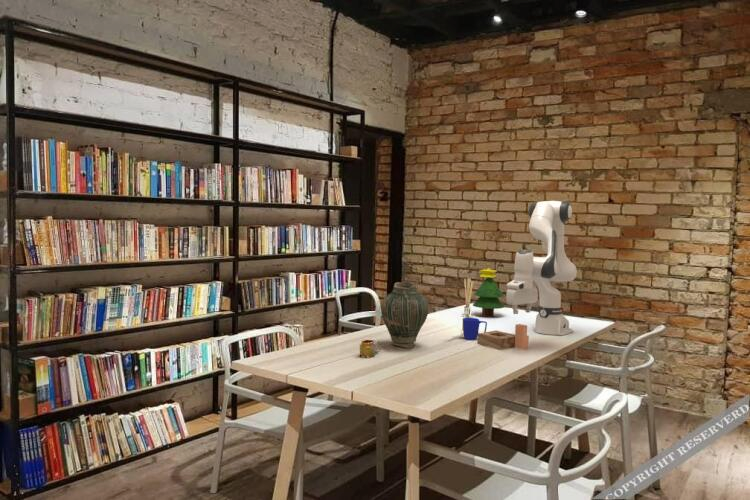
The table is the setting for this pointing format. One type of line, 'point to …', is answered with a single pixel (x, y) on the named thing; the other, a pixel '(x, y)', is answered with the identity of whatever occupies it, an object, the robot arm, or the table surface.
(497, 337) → the wooden tray
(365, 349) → the mug
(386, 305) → the vase
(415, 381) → the table surface
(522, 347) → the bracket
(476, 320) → the mug
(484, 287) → the decorative tree
